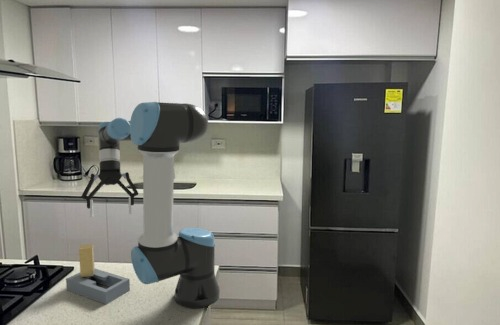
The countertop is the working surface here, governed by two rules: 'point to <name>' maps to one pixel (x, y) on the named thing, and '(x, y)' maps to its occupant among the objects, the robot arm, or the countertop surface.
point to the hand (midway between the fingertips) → (111, 215)
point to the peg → (87, 261)
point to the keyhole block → (97, 293)
